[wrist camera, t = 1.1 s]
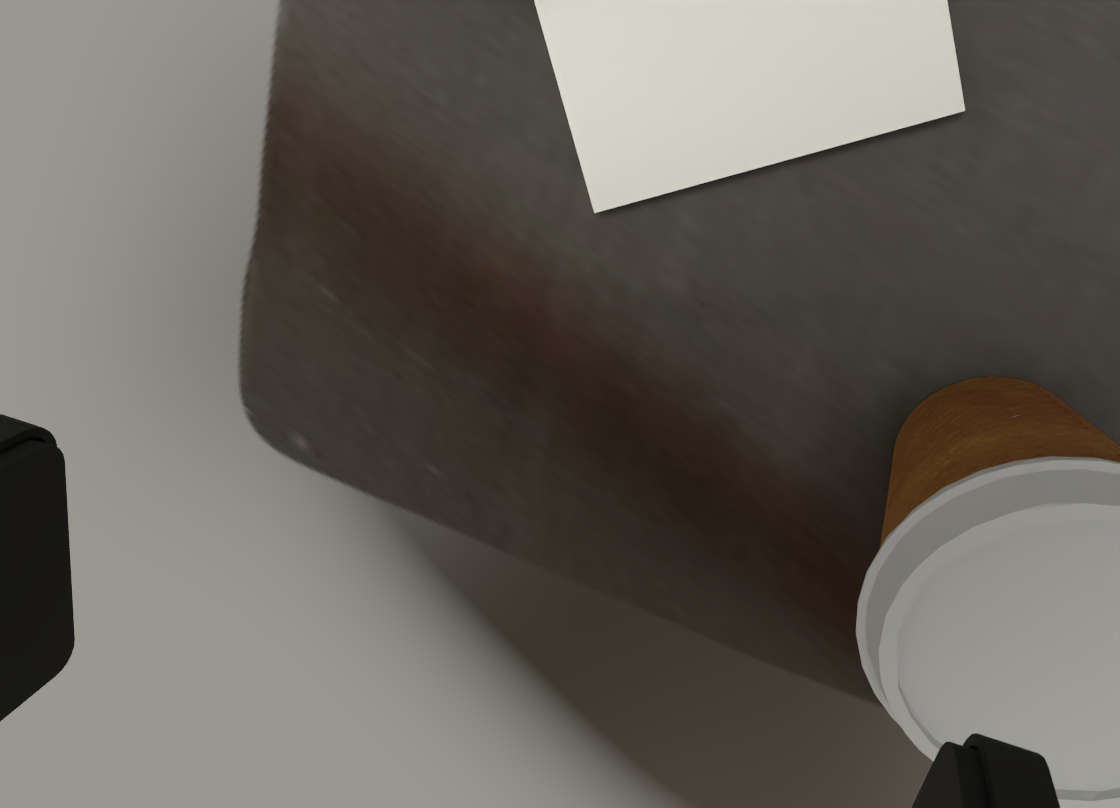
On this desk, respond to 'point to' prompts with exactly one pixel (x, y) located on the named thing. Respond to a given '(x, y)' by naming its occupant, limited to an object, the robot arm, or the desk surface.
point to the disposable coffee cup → (1002, 583)
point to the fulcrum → (738, 83)
